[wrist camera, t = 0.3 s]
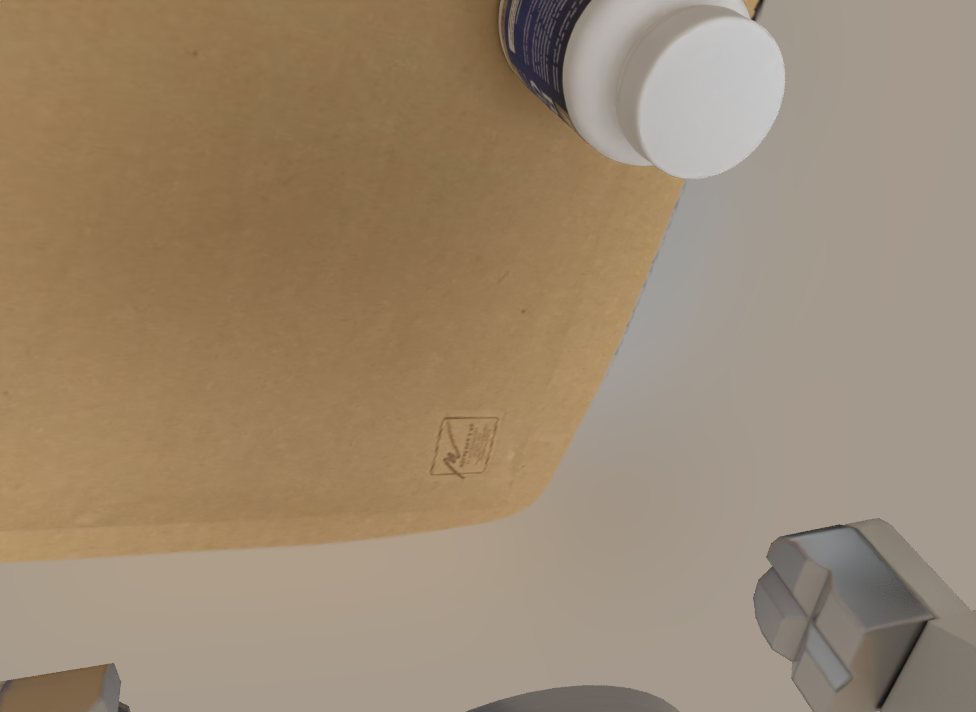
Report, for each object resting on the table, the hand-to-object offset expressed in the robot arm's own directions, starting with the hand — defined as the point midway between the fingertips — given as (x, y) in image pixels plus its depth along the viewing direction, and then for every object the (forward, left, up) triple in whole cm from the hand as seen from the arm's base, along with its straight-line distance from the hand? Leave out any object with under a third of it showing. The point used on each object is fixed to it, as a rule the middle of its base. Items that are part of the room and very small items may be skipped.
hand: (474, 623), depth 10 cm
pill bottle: (+3, -9, -21) cm, 23 cm away
